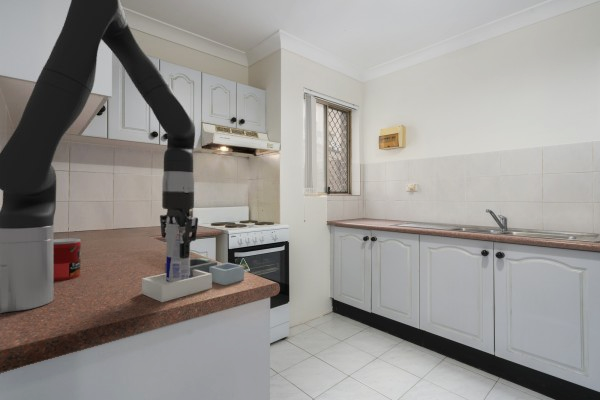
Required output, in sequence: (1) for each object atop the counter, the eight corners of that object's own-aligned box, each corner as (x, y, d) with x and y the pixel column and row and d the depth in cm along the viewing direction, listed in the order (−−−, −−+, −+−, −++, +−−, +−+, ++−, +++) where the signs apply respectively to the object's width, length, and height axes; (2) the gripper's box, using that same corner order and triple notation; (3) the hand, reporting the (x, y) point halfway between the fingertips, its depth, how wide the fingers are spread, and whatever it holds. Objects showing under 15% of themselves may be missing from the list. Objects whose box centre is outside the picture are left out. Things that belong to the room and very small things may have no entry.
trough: (162, 302, 68) (162, 285, 68) (141, 293, 74) (142, 278, 74) (211, 288, 79) (212, 273, 79) (190, 281, 85) (190, 268, 85)
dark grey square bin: (185, 285, 81) (185, 267, 81) (164, 278, 88) (164, 262, 88) (217, 277, 90) (217, 261, 90) (196, 271, 96) (196, 256, 96)
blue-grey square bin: (224, 285, 82) (224, 270, 82) (209, 280, 86) (209, 266, 86) (244, 279, 87) (244, 266, 87) (228, 275, 92) (228, 262, 92)
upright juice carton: (193, 278, 79) (194, 222, 79) (183, 285, 74) (184, 224, 74) (173, 278, 80) (174, 221, 80) (161, 284, 74) (162, 223, 74)
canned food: (76, 279, 86) (76, 241, 86) (41, 282, 83) (41, 242, 83) (84, 273, 93) (84, 237, 93) (52, 275, 90) (52, 238, 90)
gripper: (149, 189, 78) (149, 255, 78) (180, 189, 69) (180, 263, 69) (176, 190, 84) (176, 251, 84) (208, 190, 75) (207, 258, 75)
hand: (177, 256), depth 77 cm, fingers closed on upright juice carton, 5 cm apart
